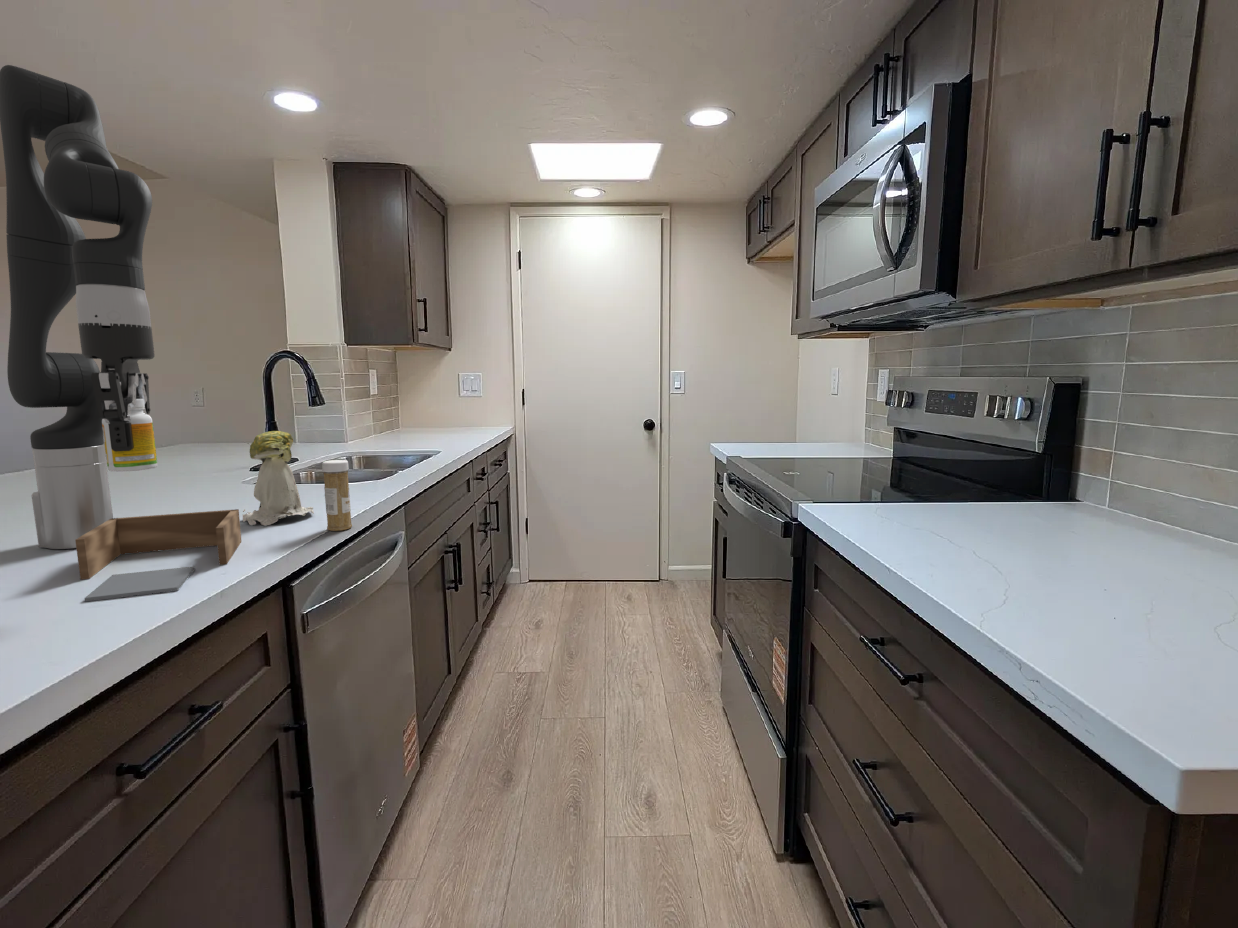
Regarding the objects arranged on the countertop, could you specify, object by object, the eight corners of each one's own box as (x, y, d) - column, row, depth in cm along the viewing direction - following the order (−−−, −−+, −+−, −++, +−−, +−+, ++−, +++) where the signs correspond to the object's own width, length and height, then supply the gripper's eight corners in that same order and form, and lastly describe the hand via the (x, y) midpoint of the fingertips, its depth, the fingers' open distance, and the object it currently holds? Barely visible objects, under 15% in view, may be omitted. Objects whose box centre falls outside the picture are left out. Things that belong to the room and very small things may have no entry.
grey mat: (112, 577, 86) (112, 574, 86) (194, 569, 90) (194, 566, 90) (85, 601, 77) (84, 597, 77) (177, 590, 81) (177, 587, 81)
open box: (115, 553, 98) (110, 518, 97) (241, 541, 105) (238, 509, 104) (80, 579, 85) (75, 539, 84) (226, 564, 93) (223, 527, 92)
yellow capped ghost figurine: (327, 515, 126) (321, 430, 123) (268, 528, 115) (260, 435, 112) (291, 509, 131) (285, 427, 129) (231, 521, 120) (223, 432, 117)
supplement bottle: (167, 467, 83) (159, 398, 82) (125, 473, 78) (116, 399, 77) (141, 465, 85) (133, 398, 83) (98, 471, 80) (89, 399, 78)
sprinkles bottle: (355, 528, 115) (351, 461, 113) (331, 532, 112) (326, 463, 110) (347, 524, 118) (343, 458, 116) (323, 528, 115) (318, 460, 113)
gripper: (100, 326, 84) (114, 444, 86) (55, 316, 71) (73, 456, 73) (164, 328, 87) (177, 442, 89) (133, 319, 74) (148, 452, 76)
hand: (130, 447), depth 81 cm, fingers closed on supplement bottle, 5 cm apart
